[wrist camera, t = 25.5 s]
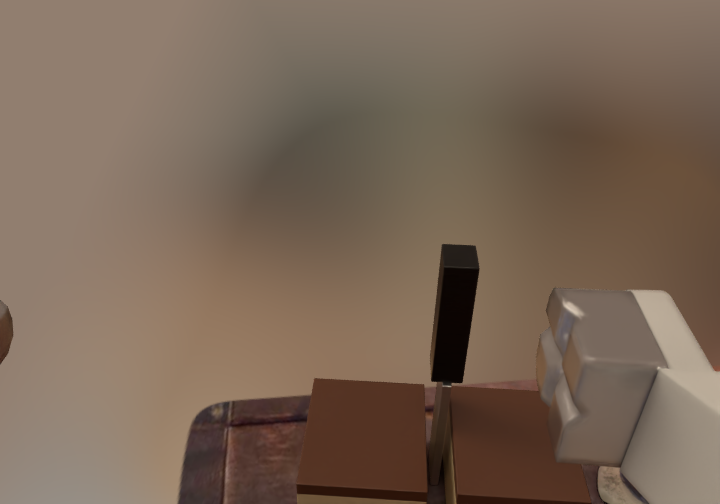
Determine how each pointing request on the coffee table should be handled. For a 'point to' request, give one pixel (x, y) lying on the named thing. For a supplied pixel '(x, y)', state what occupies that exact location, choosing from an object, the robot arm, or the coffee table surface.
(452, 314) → the knife
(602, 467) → the dessert
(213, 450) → the coffee table surface
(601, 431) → the robot arm
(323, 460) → the cake left
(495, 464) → the cake right
